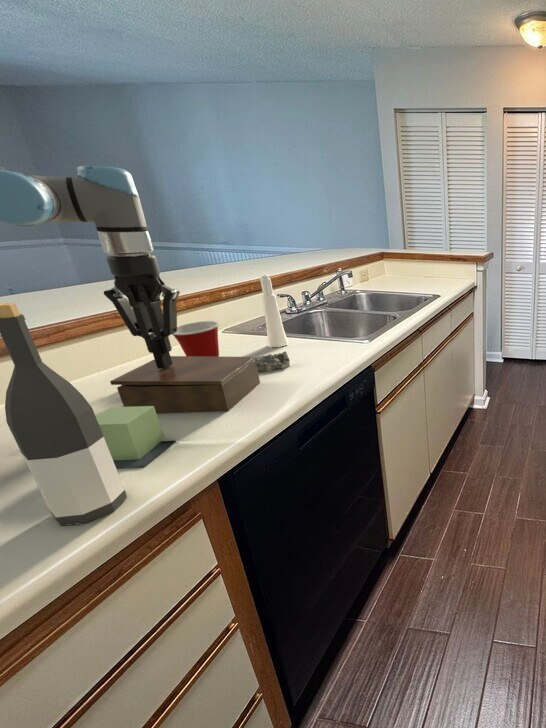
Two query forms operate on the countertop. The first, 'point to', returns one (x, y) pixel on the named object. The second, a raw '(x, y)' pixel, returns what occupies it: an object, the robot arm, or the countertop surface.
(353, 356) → the countertop surface
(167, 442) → the mat
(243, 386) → the chest
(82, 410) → the wine bottle
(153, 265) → the robot arm
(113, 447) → the cube
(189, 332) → the plastic cup
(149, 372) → the lid
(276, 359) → the grey rock
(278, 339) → the white tapered tower
